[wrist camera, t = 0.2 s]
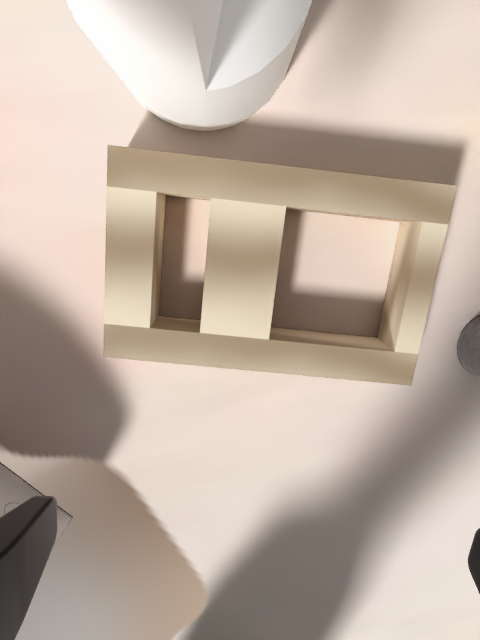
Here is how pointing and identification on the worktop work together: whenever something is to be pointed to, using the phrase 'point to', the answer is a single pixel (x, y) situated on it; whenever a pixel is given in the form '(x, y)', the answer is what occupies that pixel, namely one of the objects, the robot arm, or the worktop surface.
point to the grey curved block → (24, 497)
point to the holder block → (261, 264)
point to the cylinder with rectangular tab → (196, 53)
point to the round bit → (470, 347)
